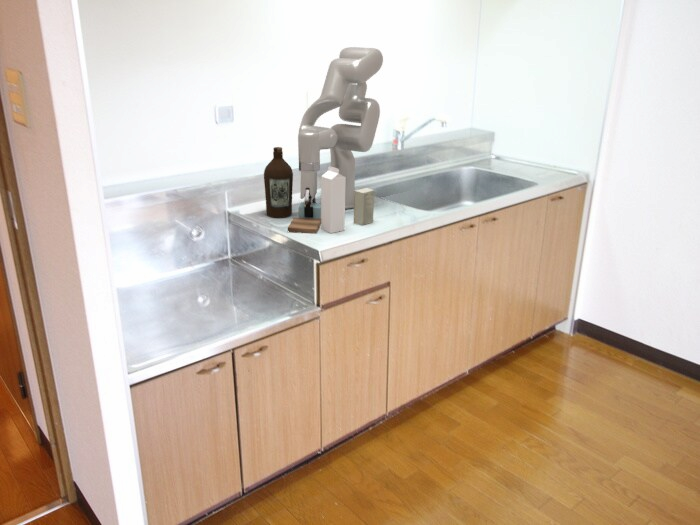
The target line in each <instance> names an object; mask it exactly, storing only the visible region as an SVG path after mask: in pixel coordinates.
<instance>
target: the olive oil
mask: <svg viewBox="0 0 700 525" xmlns="http://www.w3.org/2000/svg"><path fill="white" fill-rule="evenodd" d="M283 152H284V151H283V147H281V146H275V147H273V154H272V155H273V156H272V157H273V158H272V159H271V160H270V161H269V163H268V164H267V165H266V166H265V168H264V171H263V181H264V182H263V184H264V193H265V209H266V212H265V213H266V216H267V217H269V218H275V219H282V218H284V219H285V218H289V217H291V216H292V215H293V214H292V213H293V188H294V187H293V182H294V172H293V169H292V167H291V165H289V164H288V162H287V161H286V160H285V159H284V157H283V156H284V154H283Z"/></svg>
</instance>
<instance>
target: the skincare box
mask: <svg viewBox="0 0 700 525" xmlns="http://www.w3.org/2000/svg"><path fill="white" fill-rule="evenodd" d="M374 207H375V189H373V188H372V189H371V188H368V187H363V188H360V189H355V190H354V208H353V223H354V224H357V225H360V226H365V225H368V224H371V223H373V222H374Z"/></svg>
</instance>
